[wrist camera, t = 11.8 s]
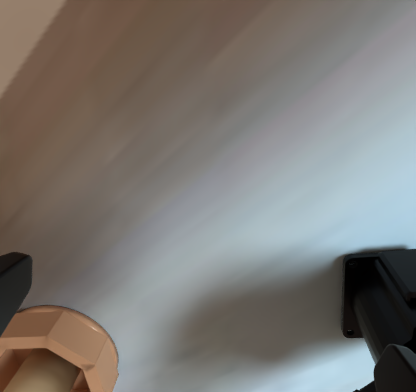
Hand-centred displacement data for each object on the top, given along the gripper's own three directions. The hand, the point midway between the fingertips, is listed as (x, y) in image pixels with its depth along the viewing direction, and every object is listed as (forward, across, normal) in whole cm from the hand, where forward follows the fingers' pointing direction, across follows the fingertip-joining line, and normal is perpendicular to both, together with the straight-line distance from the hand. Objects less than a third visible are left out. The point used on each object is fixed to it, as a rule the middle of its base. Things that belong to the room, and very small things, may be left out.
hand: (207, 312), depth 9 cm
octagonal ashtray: (+13, +9, +18) cm, 24 cm away
